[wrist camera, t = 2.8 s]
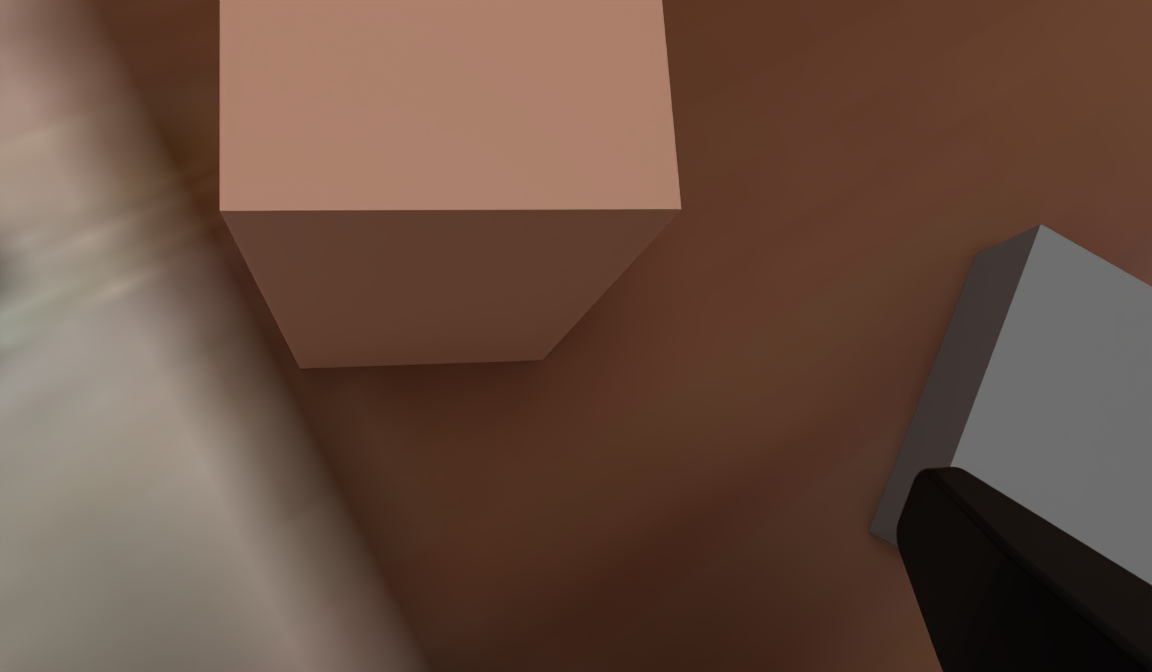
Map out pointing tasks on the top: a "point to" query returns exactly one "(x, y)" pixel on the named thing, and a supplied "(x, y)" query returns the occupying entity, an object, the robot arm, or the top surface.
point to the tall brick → (441, 168)
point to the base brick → (1044, 395)
